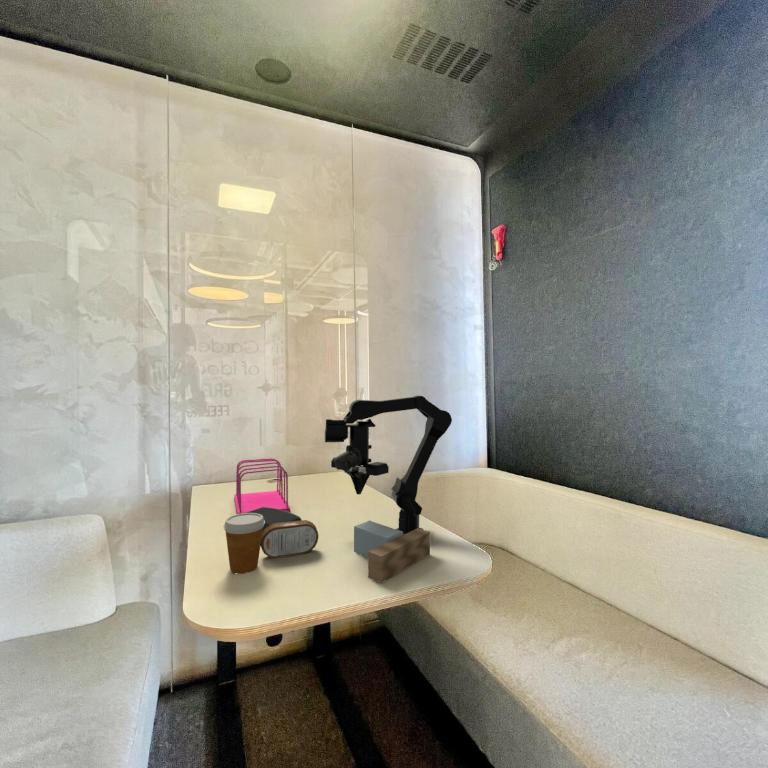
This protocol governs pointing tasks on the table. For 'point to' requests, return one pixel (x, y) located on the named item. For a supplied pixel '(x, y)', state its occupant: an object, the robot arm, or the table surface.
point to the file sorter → (261, 498)
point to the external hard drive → (275, 516)
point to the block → (372, 536)
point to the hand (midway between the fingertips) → (358, 494)
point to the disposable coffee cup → (244, 541)
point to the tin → (289, 538)
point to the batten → (398, 554)
